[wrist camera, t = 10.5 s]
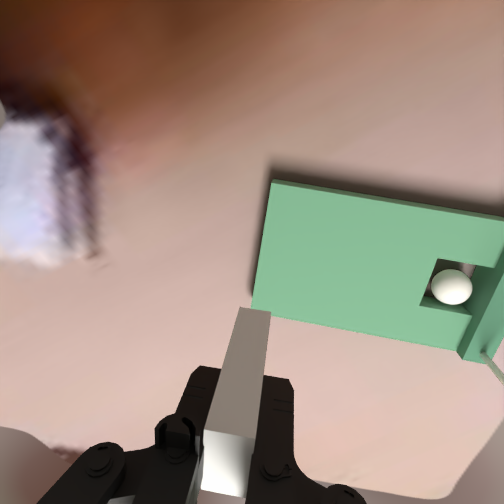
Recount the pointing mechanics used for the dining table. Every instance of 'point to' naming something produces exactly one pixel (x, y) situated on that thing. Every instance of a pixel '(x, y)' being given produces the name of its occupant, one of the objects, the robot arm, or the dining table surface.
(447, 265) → the dining table surface
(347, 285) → the putting mat
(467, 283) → the ball
